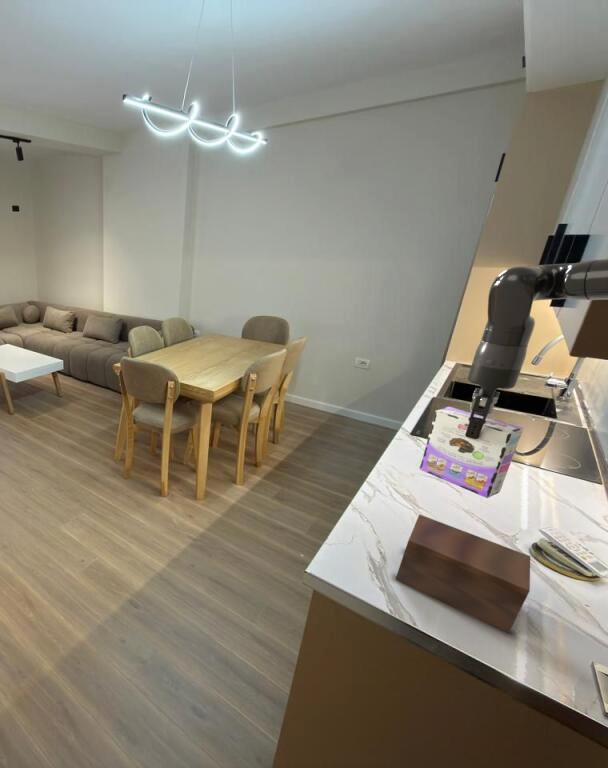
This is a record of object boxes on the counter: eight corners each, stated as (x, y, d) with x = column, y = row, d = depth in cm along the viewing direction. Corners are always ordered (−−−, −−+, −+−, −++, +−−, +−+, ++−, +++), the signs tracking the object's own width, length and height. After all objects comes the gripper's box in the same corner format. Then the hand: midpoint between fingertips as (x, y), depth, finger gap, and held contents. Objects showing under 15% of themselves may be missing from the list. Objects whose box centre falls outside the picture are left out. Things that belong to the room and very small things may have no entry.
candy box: (501, 492, 89) (526, 427, 83) (486, 499, 87) (511, 432, 81) (431, 463, 101) (449, 404, 95) (417, 469, 99) (435, 409, 93)
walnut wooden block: (510, 597, 83) (530, 556, 79) (508, 634, 76) (529, 590, 72) (406, 551, 95) (419, 514, 92) (395, 579, 88) (408, 539, 84)
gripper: (520, 374, 77) (493, 449, 82) (523, 359, 86) (499, 427, 91) (468, 366, 82) (446, 437, 87) (477, 353, 91) (456, 418, 97)
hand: (473, 432), depth 89 cm, fingers closed on candy box, 7 cm apart
